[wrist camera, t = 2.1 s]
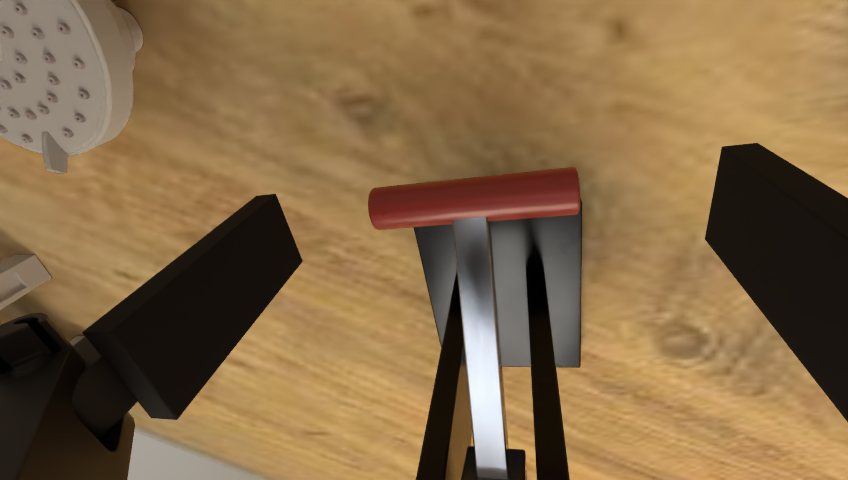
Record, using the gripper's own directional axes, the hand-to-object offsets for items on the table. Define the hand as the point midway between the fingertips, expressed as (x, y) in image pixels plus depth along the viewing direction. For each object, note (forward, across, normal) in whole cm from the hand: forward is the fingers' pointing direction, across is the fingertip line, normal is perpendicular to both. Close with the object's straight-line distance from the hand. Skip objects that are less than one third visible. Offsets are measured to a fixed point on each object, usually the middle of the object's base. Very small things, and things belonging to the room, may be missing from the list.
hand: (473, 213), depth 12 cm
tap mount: (+10, 0, -10) cm, 14 cm away
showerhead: (+10, -18, +7) cm, 22 cm away
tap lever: (0, 0, -6) cm, 6 cm away
